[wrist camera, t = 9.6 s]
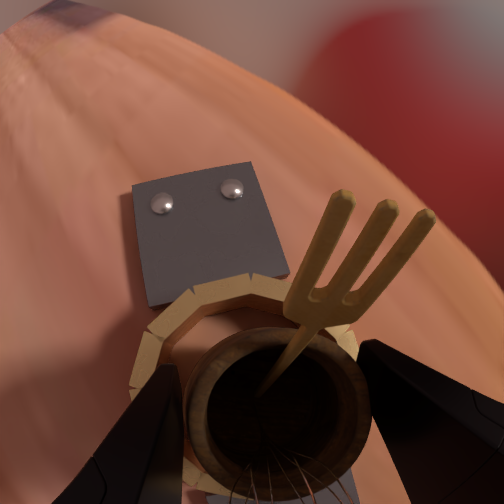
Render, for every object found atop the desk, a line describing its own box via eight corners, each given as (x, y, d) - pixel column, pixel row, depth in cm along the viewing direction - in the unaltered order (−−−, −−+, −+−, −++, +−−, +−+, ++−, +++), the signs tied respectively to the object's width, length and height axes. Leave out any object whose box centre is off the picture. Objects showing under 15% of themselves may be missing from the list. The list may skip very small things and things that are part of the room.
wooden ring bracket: (382, 525, 12) (404, 541, 9) (224, 578, 9) (226, 603, 7) (269, 167, 21) (276, 138, 18) (114, 199, 18) (101, 173, 16)
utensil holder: (187, 447, 12) (105, 621, 1) (202, 325, 14) (144, 160, 3) (308, 456, 12) (483, 572, 1) (319, 337, 14) (522, 236, 3)
